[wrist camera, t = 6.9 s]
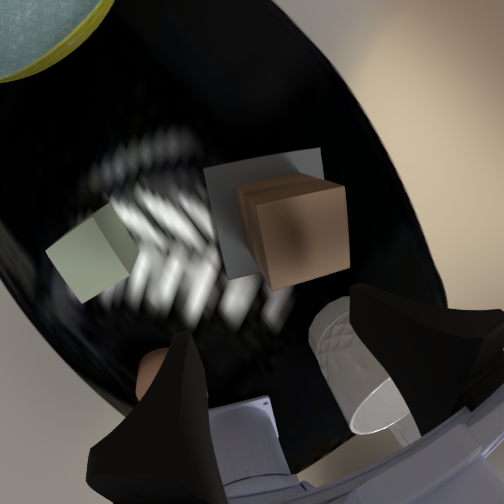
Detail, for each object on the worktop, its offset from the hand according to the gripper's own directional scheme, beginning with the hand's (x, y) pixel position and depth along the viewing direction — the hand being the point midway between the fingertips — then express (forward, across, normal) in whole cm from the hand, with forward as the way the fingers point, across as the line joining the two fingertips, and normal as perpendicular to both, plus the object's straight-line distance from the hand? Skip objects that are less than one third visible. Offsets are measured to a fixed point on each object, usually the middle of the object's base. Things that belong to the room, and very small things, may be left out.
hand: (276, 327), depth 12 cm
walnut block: (+9, -3, -2) cm, 9 cm away
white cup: (+10, -8, +10) cm, 16 cm away
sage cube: (+9, +9, -3) cm, 14 cm away
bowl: (+9, +9, -20) cm, 24 cm away
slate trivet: (+9, -3, -2) cm, 10 cm away
